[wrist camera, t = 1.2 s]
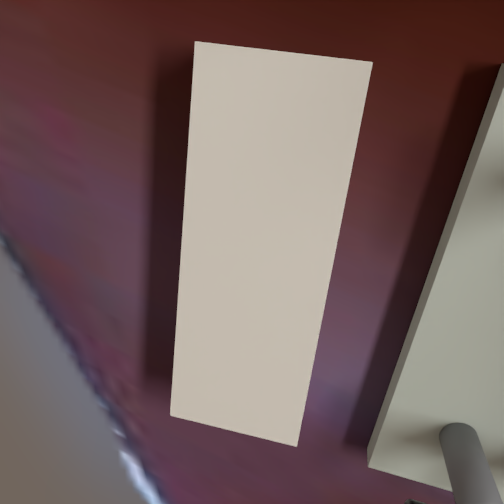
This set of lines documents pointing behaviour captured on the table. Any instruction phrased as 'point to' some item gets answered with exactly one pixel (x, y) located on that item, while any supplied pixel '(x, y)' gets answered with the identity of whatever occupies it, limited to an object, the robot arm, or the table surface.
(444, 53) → the table surface
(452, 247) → the peg stand
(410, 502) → the robot arm
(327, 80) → the shelf board
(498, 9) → the table surface
